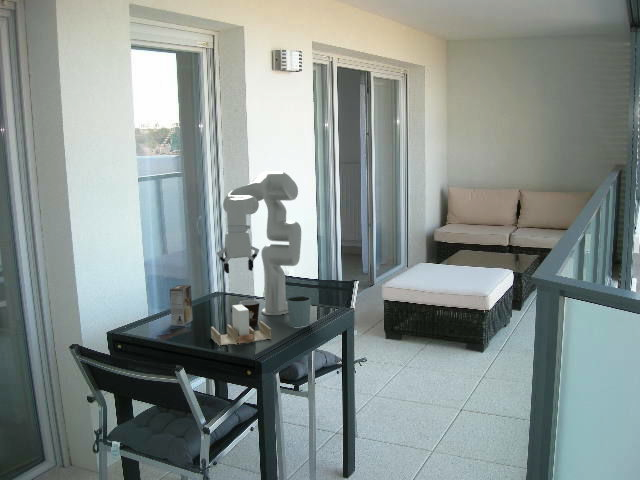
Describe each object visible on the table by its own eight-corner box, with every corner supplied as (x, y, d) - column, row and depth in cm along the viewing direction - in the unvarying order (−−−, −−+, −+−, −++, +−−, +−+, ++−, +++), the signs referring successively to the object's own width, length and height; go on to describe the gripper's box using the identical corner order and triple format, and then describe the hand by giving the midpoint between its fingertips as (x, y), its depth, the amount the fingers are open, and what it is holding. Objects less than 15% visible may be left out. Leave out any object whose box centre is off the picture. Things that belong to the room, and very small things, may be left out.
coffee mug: (263, 323, 300) (262, 300, 298) (255, 328, 292) (254, 305, 290) (239, 321, 303) (238, 299, 302) (230, 326, 295) (229, 303, 294)
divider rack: (261, 331, 287) (261, 320, 286) (271, 340, 275) (271, 328, 274) (211, 337, 279) (210, 326, 279) (219, 346, 267) (219, 335, 266)
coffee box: (179, 320, 307) (177, 284, 305) (193, 320, 306) (191, 285, 303) (171, 325, 298) (169, 289, 296) (184, 326, 297) (183, 289, 295)
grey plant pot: (315, 324, 297) (314, 296, 296) (304, 330, 288) (304, 302, 286) (294, 321, 302) (293, 294, 300) (283, 327, 293) (282, 300, 291)
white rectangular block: (242, 332, 282) (241, 304, 281) (249, 339, 273) (248, 309, 272) (232, 334, 281) (232, 305, 279) (239, 340, 272) (238, 310, 270)
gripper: (255, 226, 281) (256, 267, 283) (213, 229, 274) (215, 271, 277) (260, 228, 274) (262, 271, 277) (218, 232, 267) (220, 275, 270)
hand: (238, 271), depth 277 cm, fingers open, 9 cm apart
